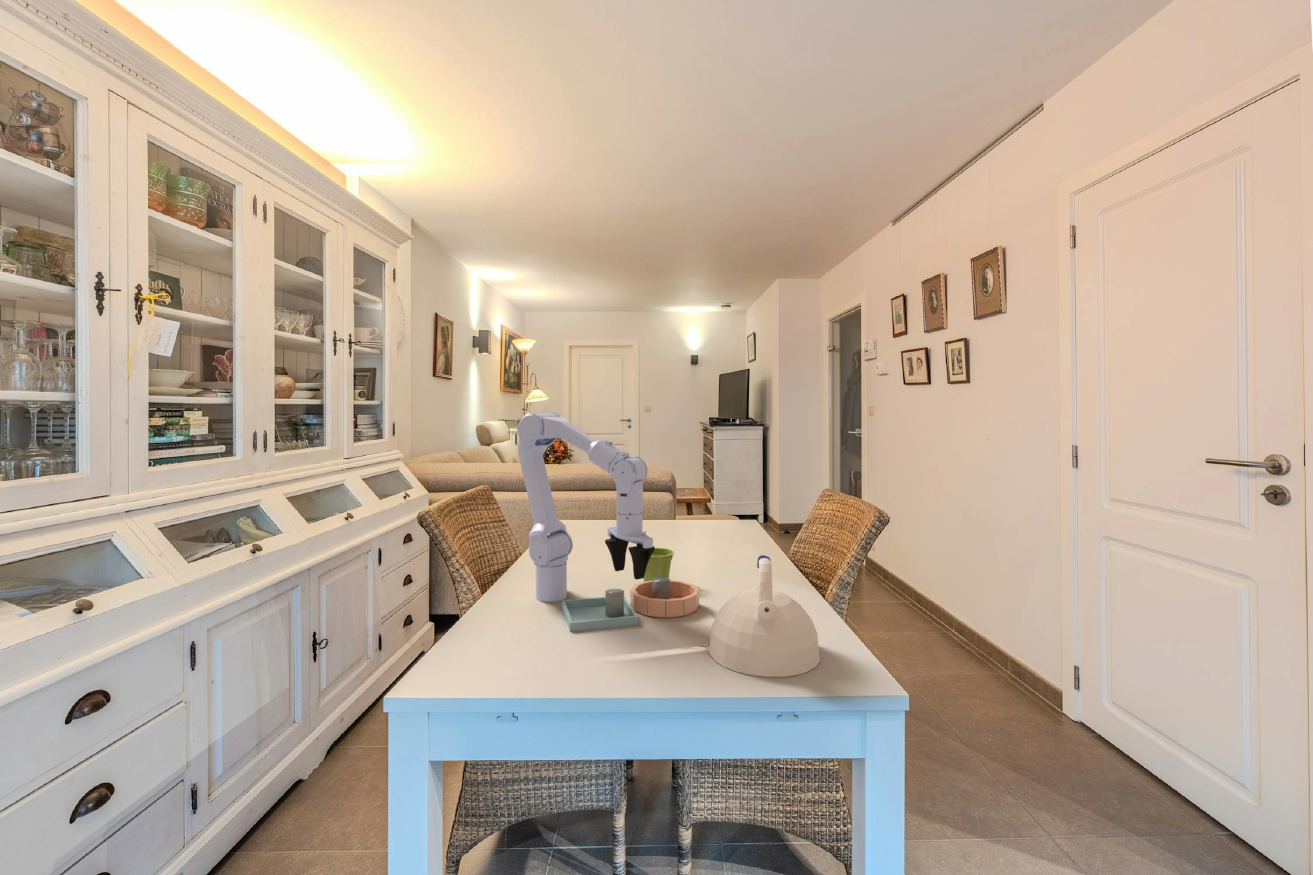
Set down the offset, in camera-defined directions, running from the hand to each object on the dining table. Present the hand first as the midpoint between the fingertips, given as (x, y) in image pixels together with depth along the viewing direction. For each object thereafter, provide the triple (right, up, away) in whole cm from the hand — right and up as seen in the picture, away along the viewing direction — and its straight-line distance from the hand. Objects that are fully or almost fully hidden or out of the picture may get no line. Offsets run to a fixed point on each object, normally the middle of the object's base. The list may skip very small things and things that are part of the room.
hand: (629, 574), depth 126 cm
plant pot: (+6, -8, +22) cm, 24 cm away
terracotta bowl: (+8, -9, +3) cm, 12 cm away
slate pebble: (-3, -8, -2) cm, 9 cm away
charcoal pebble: (+7, -8, +6) cm, 12 cm away
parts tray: (-6, -9, -3) cm, 11 cm away
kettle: (+26, -10, -19) cm, 34 cm away
